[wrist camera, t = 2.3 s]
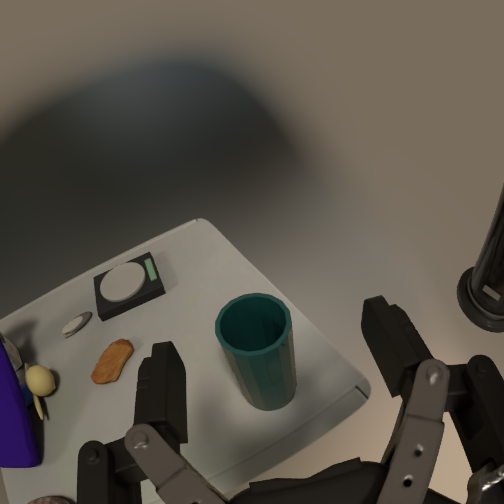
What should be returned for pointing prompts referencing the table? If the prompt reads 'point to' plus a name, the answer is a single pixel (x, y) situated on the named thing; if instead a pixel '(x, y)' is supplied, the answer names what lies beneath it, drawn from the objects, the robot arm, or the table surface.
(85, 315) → the grey flat oval piece
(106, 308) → the scale
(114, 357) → the brown flat oblong piece
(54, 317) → the table surface
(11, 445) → the spray bottle
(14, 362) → the ink box
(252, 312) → the cup
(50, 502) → the fossil
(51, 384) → the toy figure
